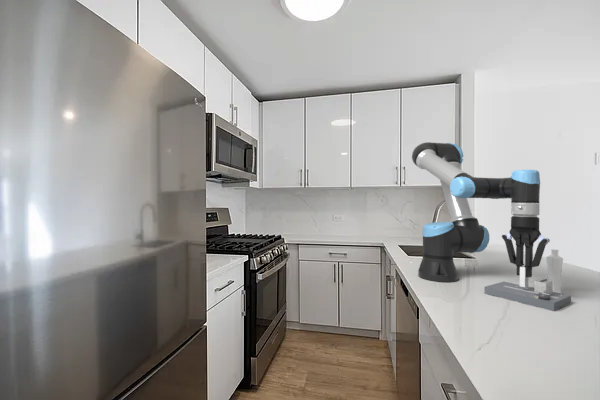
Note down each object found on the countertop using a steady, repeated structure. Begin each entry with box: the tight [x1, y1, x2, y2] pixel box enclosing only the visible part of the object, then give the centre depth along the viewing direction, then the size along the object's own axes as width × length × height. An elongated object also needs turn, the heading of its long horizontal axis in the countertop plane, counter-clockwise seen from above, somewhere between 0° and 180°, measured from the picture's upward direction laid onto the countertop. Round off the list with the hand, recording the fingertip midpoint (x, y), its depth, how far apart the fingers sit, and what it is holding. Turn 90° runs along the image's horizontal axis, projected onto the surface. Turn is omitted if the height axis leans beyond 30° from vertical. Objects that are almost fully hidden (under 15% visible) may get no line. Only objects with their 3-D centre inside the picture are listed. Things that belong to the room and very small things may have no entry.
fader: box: [533, 278, 552, 294], centre depth 92 cm, size 3×5×4 cm, turn 122°
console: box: [483, 281, 572, 312], centre depth 96 cm, size 19×14×4 cm
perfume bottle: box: [546, 249, 564, 294], centre depth 104 cm, size 5×4×15 cm
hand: (523, 286), depth 96 cm, fingers closed
